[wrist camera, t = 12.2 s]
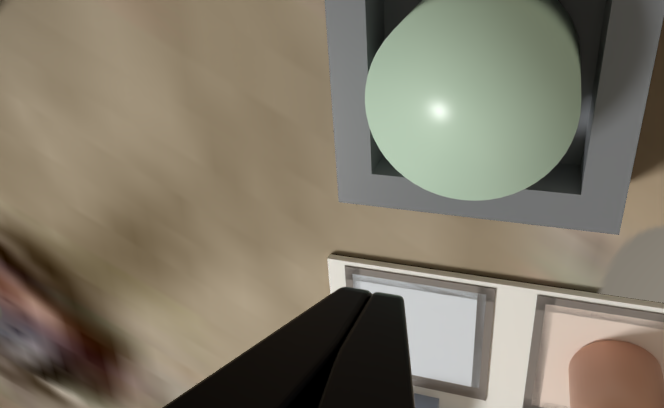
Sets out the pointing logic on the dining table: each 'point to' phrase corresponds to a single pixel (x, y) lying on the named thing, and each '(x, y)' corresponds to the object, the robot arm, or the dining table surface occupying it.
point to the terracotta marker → (615, 377)
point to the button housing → (575, 166)
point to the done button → (476, 95)
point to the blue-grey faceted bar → (425, 401)
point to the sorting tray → (499, 331)
